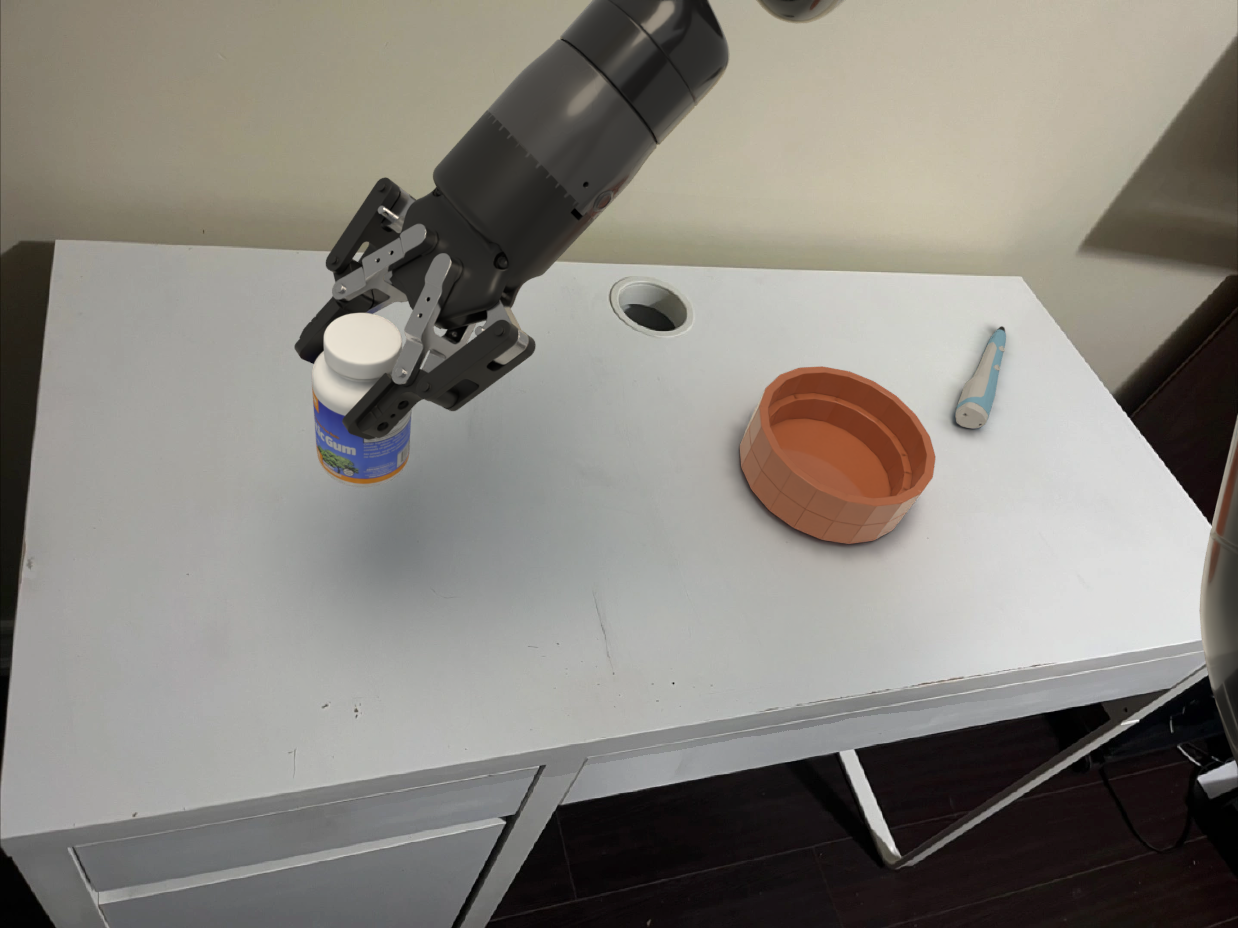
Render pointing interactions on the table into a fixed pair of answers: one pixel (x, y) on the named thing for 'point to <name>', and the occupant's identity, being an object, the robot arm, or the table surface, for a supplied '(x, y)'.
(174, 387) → the table surface
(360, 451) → the pill bottle
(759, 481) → the bowl
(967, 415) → the white and blue rod
